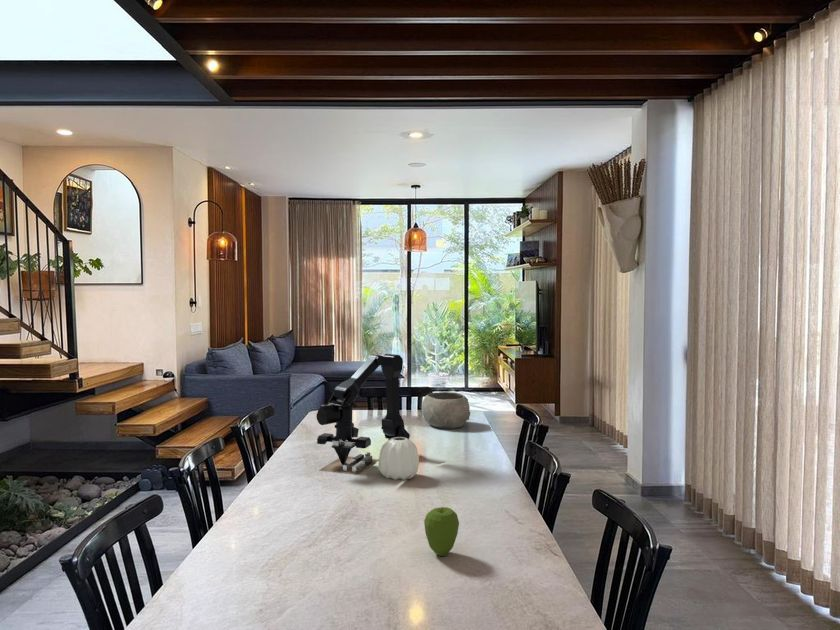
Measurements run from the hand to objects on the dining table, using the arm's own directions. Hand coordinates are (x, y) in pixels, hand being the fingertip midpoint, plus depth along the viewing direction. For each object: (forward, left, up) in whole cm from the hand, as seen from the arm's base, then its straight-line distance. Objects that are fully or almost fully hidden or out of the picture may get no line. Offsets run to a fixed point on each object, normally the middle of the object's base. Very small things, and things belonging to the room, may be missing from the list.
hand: (343, 464), depth 213 cm
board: (-1, -3, -2) cm, 4 cm away
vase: (-22, +2, -2) cm, 22 cm away
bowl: (-16, -82, -2) cm, 84 cm away
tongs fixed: (-5, -4, -1) cm, 7 cm away
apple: (-52, +56, -2) cm, 76 cm away
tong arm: (-3, -2, -1) cm, 4 cm away
